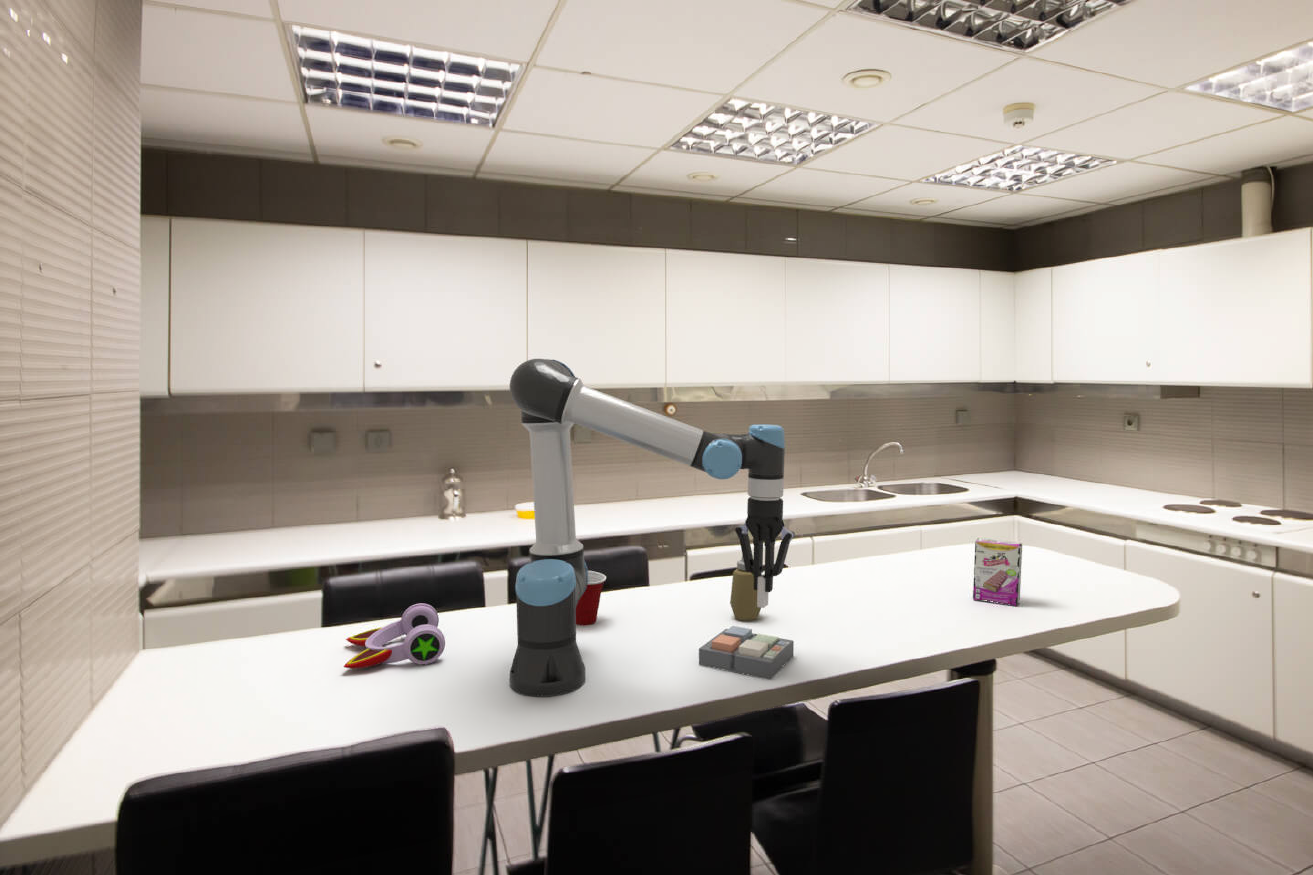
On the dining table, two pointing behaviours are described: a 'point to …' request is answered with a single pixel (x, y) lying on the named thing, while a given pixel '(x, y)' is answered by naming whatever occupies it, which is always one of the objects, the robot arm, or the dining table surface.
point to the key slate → (739, 633)
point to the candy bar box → (997, 571)
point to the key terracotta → (726, 643)
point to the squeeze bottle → (744, 594)
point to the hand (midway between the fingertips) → (762, 605)
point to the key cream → (753, 648)
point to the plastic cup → (590, 599)
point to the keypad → (748, 658)
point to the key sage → (766, 639)
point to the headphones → (418, 645)
